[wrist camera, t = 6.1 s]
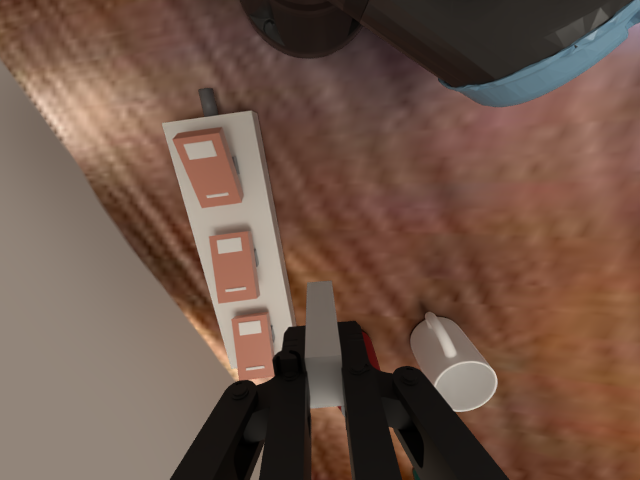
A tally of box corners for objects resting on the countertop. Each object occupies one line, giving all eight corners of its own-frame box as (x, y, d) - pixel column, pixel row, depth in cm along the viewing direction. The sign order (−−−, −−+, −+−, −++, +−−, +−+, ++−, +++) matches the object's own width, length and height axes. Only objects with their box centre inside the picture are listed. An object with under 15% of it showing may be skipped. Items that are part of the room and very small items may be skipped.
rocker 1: (177, 133, 31) (171, 139, 29) (222, 126, 30) (218, 133, 29) (205, 200, 36) (201, 208, 34) (243, 194, 35) (241, 203, 34)
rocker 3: (235, 316, 41) (231, 319, 39) (268, 311, 41) (266, 314, 39) (242, 374, 41) (238, 381, 39) (276, 370, 41) (274, 376, 39)
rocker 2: (214, 236, 37) (208, 236, 35) (251, 231, 37) (247, 231, 35) (223, 300, 37) (217, 304, 35) (260, 295, 37) (256, 298, 35)
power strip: (168, 98, 36) (146, 91, 31) (252, 86, 36) (243, 78, 31) (236, 350, 48) (228, 375, 43) (299, 342, 48) (298, 366, 43)
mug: (394, 307, 46) (416, 352, 36) (446, 287, 45) (483, 328, 36) (417, 364, 50) (443, 419, 40) (465, 347, 49) (503, 399, 39)
